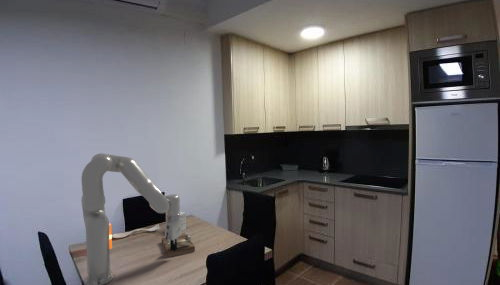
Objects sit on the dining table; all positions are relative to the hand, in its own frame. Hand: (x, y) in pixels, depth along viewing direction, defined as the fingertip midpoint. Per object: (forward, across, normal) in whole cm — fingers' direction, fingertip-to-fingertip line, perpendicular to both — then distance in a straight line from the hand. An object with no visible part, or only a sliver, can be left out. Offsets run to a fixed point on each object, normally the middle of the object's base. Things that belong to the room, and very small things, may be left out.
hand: (173, 250), depth 149 cm
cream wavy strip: (+5, +24, +46) cm, 53 cm away
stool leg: (+1, +7, +1) cm, 7 cm away
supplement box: (+5, +39, +22) cm, 45 cm away
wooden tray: (+5, +14, +7) cm, 16 cm away
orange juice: (+5, -1, +50) cm, 50 cm away
